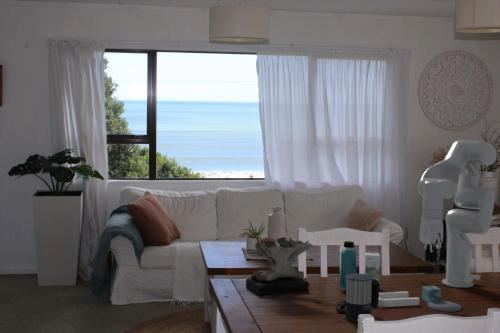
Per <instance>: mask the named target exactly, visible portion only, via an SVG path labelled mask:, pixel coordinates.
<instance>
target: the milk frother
mask: <svg viewBox="0 0 500 333" xmlns="http://www.w3.org/2000/svg"><path fill="white" fill-rule="evenodd" d="M346 278H347V284H346V289H345V290H346V291H345V293H346V294H345V299H344V300H342V301H340V302H337V304H336V305H335V309H336V311H338V312H340V313H345V316H344V319H345V320H346V321H348V322H352V323H358V322H357V319H358V315H359V314H371V315H372V309H378V308H379V306H378V302H379V293H380V290H381V288H380V285H381V284H380V281H379V282H378V281H377V280H376V279H374V278H373V277H372V276H370V275H366V274H364V273H356V274H349V275H346Z"/></svg>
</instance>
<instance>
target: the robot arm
mask: <svg viewBox="0 0 500 333" xmlns="http://www.w3.org/2000/svg"><path fill="white" fill-rule="evenodd" d="M497 155H498V154H497V149H496V147H495V145H493V144H491V143H489V142H487V141H484V140H479V139H478V140H476V139H474V140H473V139H458V140H455V141H454V142H453V143H452V144H451V146H450V148H449V149H448V152H447V153H446V155H445V157H444V159H443V160H442V161H439V162H436V163H435V164H434V165H431V166H430V167H428V168H426V170H425V171H424V172H423V174H422V176H421V178H420V180H419V181H418V186H417V189H418V190H417V191H418V193H419V195H421V196H422V211H421V212H422V215H421V219H420V226H419V235H418V237H419V241H420V242H422V244H423V245H424V254H425V255H424V261H425V262H428V263H430V264H436V263H438V253H439V249H442V244H443V241H444V222H443V218H444V200H448V199H449V200H451V199H452V198H454V199H453V201H454V202H453V203H454V204H455V205H456V207H459V208H453V209H449V211H447V213H446V215H445V225H446V234H447V235H446V236H447V238H446V239H447V240H446V268H445V278H443V279H442V280H441V283H442V284H443V285H445V286H448V287H452V288H460V289H463V288H464V289H466V288H467V289H469V288H471V287H472V288H473V286H474V282H473V281H474V280H476V281H477V280H480V279H481V275H480V274H472V273H471V255H472V254H471V252H472V243H471V242H472V241H471V240H470V237H469V236H468V234H473V235H479V236H480V235H486V234H488V232H489V231H490V227H491V223H492V218H493V217H492V215H493V212H494V208H495V199H496V198H495V193H494V191H493V189H492V188H490V187H488V186H487V187H486V186H480V185H479V184H480V178H481V177H480V174H479V172H478V171H477V170H476V168H475V167H474V166H473V165H482V166H491V165H493V164H494V163H495V162H496V161H497ZM456 176H458V177H457V178H458V180H457V183H456V182H455V181H454V180H451V179H449V178H453V177H456Z"/></svg>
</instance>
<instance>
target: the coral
mask: <svg viewBox="0 0 500 333" xmlns="http://www.w3.org/2000/svg"><path fill="white" fill-rule="evenodd" d="M276 242H277V243H278V244H279V245H276ZM254 246H255V249H256V250H257V251H258V252H259V253H260V254H261V255H262V257H263V258H265V259H267V261H268V262H269V269H268V270H262V269H261V270H255V271H254V272H253V273H252V274H251V275H250V277H249V278H246V279H245V288H246V289H247V290H248V291H250V292H252V293H254V294H255V295H257V296H258V297H264V296H265V297H266V295H267V296H276V295H283V294H284V295H285V294H294V292H296V293H304V292H305V291H306V292H309V291H310V290H309V289H310V287H309V286H310V282H308V281H307V280H305V279H304V278H305V274H304V273H305V271H304V270H301V271H300V270H299V269H297V268H296V266H293V263H294V261H295V259H296V258H298V256H300V255H301V254H303V253H304V252H307V251H308V250H310V249H312V248H313V247H314V245H313V244H312V243H310V242H309V240H307V241H305V242H304V241H302V240H298V241H297V240H293V239H292V238H291V237H289V239H288V240H287V238H286V237H285V236H283V237H279V238H276V241H275V240H268V241H267V240H266V241H265V242H264V244H263V243H262V242H259V241H257V242H256V243H255V244H254ZM306 292H305V293H306Z"/></svg>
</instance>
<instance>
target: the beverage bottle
mask: <svg viewBox="0 0 500 333" xmlns="http://www.w3.org/2000/svg"><path fill="white" fill-rule="evenodd" d="M343 248H345V249H343V250H342V251H341V252H340V268H339V271H340V272H339V284H338V285H339V288H340V289H341V290H346V284H347V278H346V275H349V274H357V254H358V253H357V252H356V251H355V250H354V249H353V248H355V241H351V240H346V241H344V242H343ZM346 248H347V249H346Z"/></svg>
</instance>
